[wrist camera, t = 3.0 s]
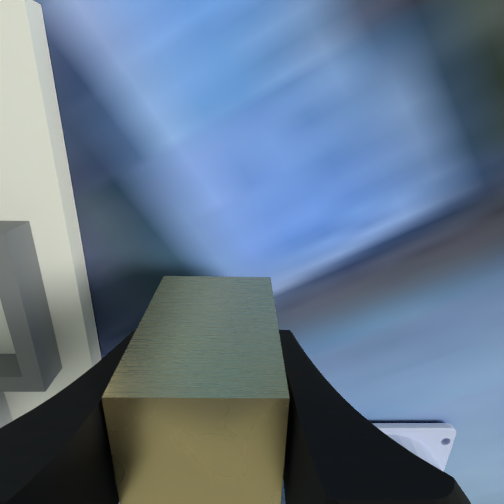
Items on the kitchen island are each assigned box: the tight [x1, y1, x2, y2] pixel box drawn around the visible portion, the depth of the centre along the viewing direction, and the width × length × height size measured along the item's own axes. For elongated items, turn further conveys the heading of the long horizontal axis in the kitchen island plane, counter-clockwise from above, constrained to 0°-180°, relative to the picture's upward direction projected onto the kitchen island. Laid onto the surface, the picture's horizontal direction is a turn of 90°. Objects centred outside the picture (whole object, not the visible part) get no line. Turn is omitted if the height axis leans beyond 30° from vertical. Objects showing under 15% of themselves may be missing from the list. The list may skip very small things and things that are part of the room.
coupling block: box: [102, 276, 290, 504], centre depth 11 cm, size 4×4×6 cm
